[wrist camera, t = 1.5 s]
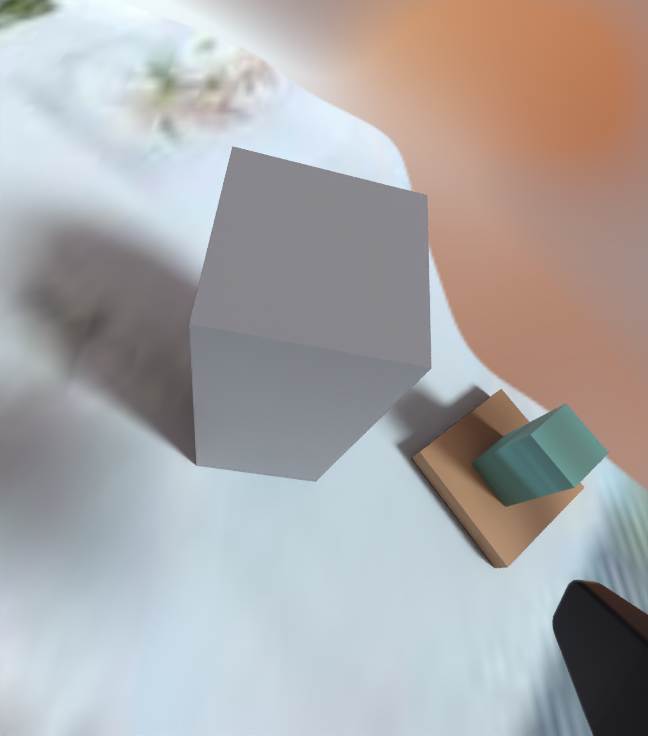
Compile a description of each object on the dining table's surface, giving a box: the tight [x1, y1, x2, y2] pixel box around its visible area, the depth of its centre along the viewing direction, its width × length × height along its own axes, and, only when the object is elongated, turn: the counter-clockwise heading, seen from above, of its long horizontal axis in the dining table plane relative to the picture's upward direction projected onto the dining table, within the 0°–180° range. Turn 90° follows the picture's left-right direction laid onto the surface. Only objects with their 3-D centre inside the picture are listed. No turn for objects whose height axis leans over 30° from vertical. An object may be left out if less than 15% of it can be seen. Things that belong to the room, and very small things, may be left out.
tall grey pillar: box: [189, 146, 431, 481], centre depth 16 cm, size 5×5×12 cm
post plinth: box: [412, 389, 609, 568], centre depth 21 cm, size 6×6×6 cm
